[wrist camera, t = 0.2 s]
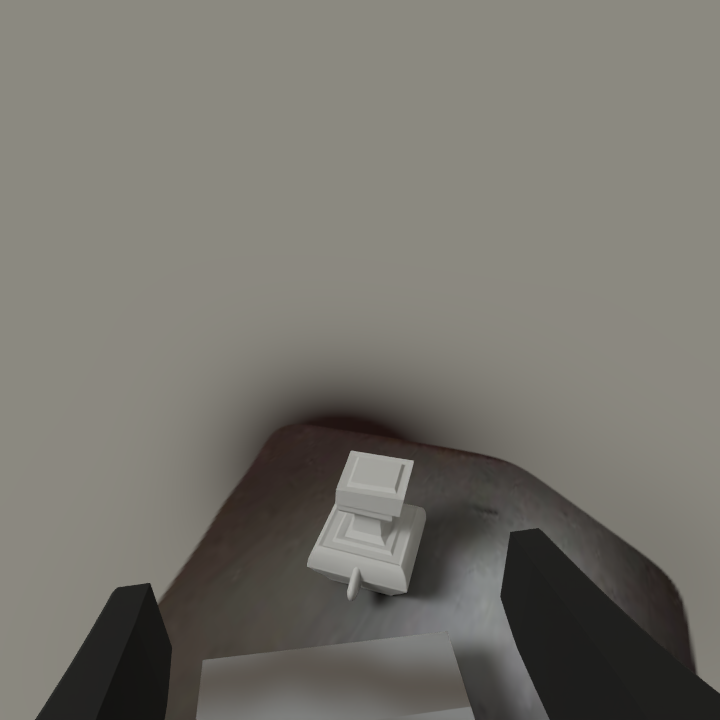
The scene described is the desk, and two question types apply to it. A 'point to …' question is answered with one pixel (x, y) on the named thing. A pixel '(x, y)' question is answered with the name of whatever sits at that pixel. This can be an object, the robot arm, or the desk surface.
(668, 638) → the desk surface
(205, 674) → the keyhole base
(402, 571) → the stamp
